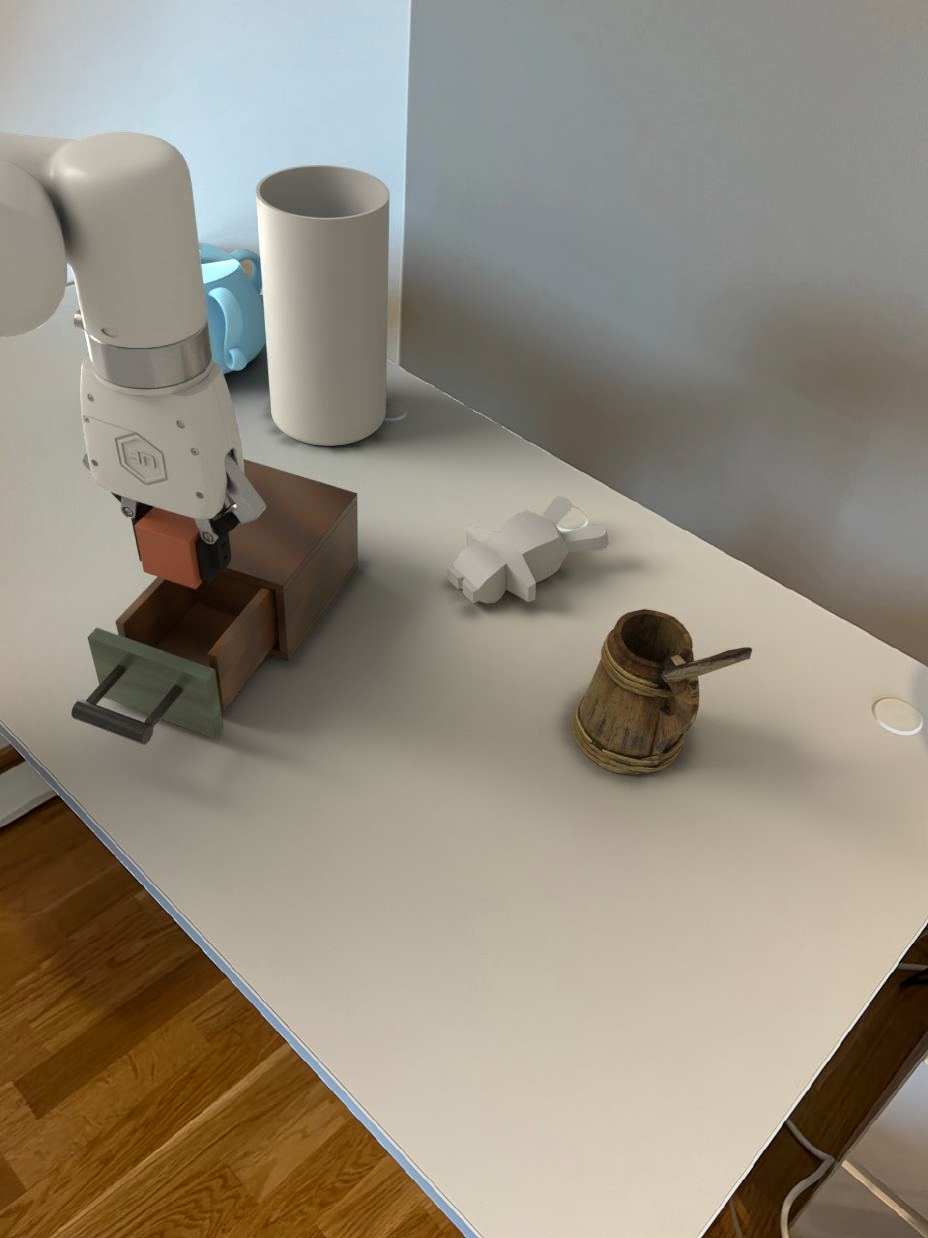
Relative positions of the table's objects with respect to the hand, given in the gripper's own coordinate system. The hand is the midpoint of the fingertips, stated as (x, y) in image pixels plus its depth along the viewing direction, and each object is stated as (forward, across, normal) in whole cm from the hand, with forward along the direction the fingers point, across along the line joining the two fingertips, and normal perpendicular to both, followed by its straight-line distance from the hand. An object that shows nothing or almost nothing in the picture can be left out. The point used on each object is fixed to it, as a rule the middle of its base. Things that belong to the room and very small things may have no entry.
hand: (185, 559), depth 81 cm
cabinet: (+13, 0, +11) cm, 17 cm away
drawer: (+12, 0, -3) cm, 12 cm away
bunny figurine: (+13, +20, +24) cm, 34 cm away
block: (0, 0, 0) cm, 0 cm away
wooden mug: (+13, +36, +7) cm, 39 cm away
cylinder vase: (+13, -8, +39) cm, 42 cm away
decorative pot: (+13, -27, +43) cm, 53 cm away
